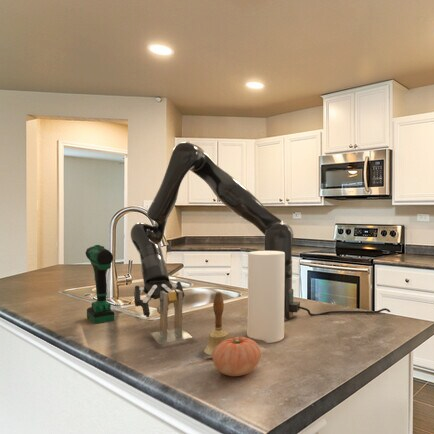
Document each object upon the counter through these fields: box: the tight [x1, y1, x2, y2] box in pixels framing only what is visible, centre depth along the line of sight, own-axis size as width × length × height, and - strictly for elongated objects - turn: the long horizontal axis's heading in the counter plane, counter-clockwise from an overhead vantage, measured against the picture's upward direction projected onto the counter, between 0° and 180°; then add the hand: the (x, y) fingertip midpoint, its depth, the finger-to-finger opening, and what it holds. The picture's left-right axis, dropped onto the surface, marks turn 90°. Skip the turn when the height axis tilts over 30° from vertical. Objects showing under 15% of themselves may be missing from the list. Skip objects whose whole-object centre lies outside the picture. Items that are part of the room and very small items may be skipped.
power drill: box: [85, 244, 115, 325], centre depth 132 cm, size 6×29×25 cm, turn 41°
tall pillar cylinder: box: [246, 250, 285, 344], centre depth 112 cm, size 11×11×25 cm
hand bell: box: [203, 291, 229, 361], centre depth 99 cm, size 8×8×16 cm
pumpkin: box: [212, 336, 262, 377], centre depth 87 cm, size 11×11×8 cm
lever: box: [156, 291, 177, 315], centre depth 113 cm, size 14×3×3 cm, turn 37°
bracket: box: [149, 289, 193, 345], centre depth 109 cm, size 11×9×14 cm
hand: (163, 313), depth 117 cm, fingers open, 8 cm apart
